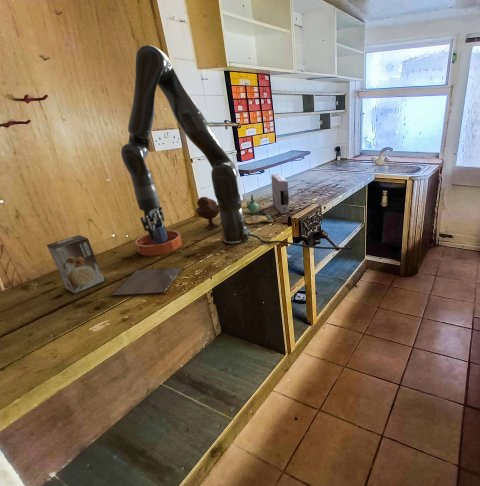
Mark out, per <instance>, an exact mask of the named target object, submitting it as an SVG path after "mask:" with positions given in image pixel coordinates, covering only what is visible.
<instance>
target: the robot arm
mask: <svg viewBox="0 0 480 486" xmlns="http://www.w3.org/2000/svg"><path fill="white" fill-rule="evenodd" d="M134 78H135V79H134V91H133V97H132V105H131V111H130V115H129V120H128V124H127V132H128V133H129V135H128V142H127V143H125V144H124V145H123V146H122V147H121V149H120V155H121V159H122V162H123V163H124V166H125V169H126V171H127V172H128V173H129V175H130V180H131V183H132V187H133V192H134V196H135V199H136V203H137V205H138V209H139V211H143V214H144V215H143V216H140V221H141V225H142V227H143V229H144V232H148V231H149V233H150V236H151V239H152V240H155V239H157V234H156V231H155V225H156V224H157V223H162V224H164V221H165V220H166V219H165V215H164V209H163V207H162V206H161V202H160V197H159V194H158V191H157V190H158V189H157V187H156V185H155V182H154V178H153V175H152V172H151V170H150V169H149V168H148V167H147V164H146V162H145V159H147V157H148V154H149V150H150V136H151V132H152V128H153V124H154V119H155V118H154V117H155V98H156V91H157V88H159V89H160V91H161V92H162V93H163V95H164V97H165V98H166V100H167V103H168V105H169V107H170V110H171V112H172V115H173V117H174V119H175V121H176V122H177V124H178V125H179V127H180V129H181V130H182V131H183V133H184V134H185V136H186V138H188V139H189V141H190V142H191V143H192V144H193V145H194V146H195V147H196V148H197V149H198V150H199V151H200V152H201V153H202V154H203V155H204V156H205V158H206V159H207V161H208V163H209V165H210V167H211V173H210V174H211V183H212V187H213V188H212V189H213V193H214V197H215V199H216V203H217V205H218V208H219V213H218V214H219V219H220V225H221V231H222V237H223V243H224V244H227V245H237V244H241V243H245V242H246V241H249V239H250V237H253V238H255V239H257V240H259V241H260V242H261V243H264V244H277V243H279V244H287V245H290V246H296V247H303V248H309V249H318V250H319V249H322V250H352V249H353V247H352V246H342V247H341V246H317V245H308V244H301V243H296V242H291V241H284V240H263V239H261V237H260V236H258V235H256V234H252V233H250V229H249V228H247V225H246V222H245V218H246V217H245V216H244V215H243V207H242V199H241V194H240V192H239V187H238V180H237V179H238V174H239V173H238V169H237V166H236V165H235V163H234V162H233V161H232V159H231V158H230V157H229V156H228V154H227V153H226V152H225V150H224V149H223V147H222V146H221V145H220V142H219V141H218V138H217V137H216V135H215V133H214V131H213V130H212V128H211V126H210V124H209V123H208V121H207V119H206V117H205V116H204V114H203V113H202V111H201V110H200V108H199V106H198V105H197V103H195V101H194V99H193V98H192V96H191V95H190V94H189V93H188V91H187V90H186V88H185V87H184V85H183V84H182V82H181V80H180V78H179V76H178V74H177V72H176V71H175V68H174V67H173V64H172V63H171V60H170V58H169V56H167V54H166V53H165V52H164V51H162V50H161V49H159V48H158V47H156V46H154V45H150V44H145V45H141V46H140V47H139V48H137V51H136V54H135V77H134ZM151 225H152V226H151ZM149 233H148V234H149Z"/></svg>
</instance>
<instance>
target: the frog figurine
mask: <svg viewBox="0 0 480 486" xmlns="http://www.w3.org/2000/svg"><path fill="white" fill-rule="evenodd" d="M260 209H261V212H262V213H263V211H264V210H263V209H262V207H260V206H259V205H258V203H257V202H256V201H255V199H254V194H251V195H250V201H247V202H246V208H245V207H242V210H245V211H244V214H246V213H248V212H251V213H250V214H249V215H248V217H244V218H245V223H246V224H249V225H251V224H258V223H262V222H264V223H274V222H275V220H273V218H272V216H270V215H269V213H268V212H267V213H266V215H263V214H262V213H260ZM255 212H256V213H257V214H256V213H255Z"/></svg>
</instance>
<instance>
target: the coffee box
mask: <svg viewBox="0 0 480 486" xmlns="http://www.w3.org/2000/svg"><path fill="white" fill-rule="evenodd" d="M46 247H47V250H48V251H49V253H50V256H51V258H52V260H53V262H54V264H55V267H56V269H57V270H58V273H59V275H60V277H61V279H62V282H63V284H64V287H65V289H67V290H68V291H70V292H71V293H73V294H78V293H79V292H82V291H85V290H87V289H89V288H92V287H93V286H94V287H95V286H96V285H98V284H101V283H103V282H105V278H104V275H103V273H102V270H101V268H100V265H99V263H98V259H97V257H96V255H95V253H94V250H93V247H92V245H91V243H90V240H89V238H88V237H86V236H84V235H80V234H77V235H75V236H71V237H68V238H65V239H62V240H58V241H55V242H52V243H48V244H46Z"/></svg>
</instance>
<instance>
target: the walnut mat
mask: <svg viewBox="0 0 480 486" xmlns="http://www.w3.org/2000/svg"><path fill="white" fill-rule="evenodd" d="M182 270H183V267H168V268H151V269H150V268H149V269H148V268H147V269H136V270H135V271H134V272H133V273H132V274H131V275H130V276H129V277H128V278H127V279H126V280H125V281H124V282H123V283H122V284H121V285H120V286H119V287H118V288H117V290H115V291H114V292H113V293H112V294H111V296H112V297H124V296H125V297H126V296H141V295H142V296H143V295H160V294H161V295H162V294H166V292H167V291H168V289H169V288H170V287H171V286H172V284H173V282H174V281H175V280H176V279H177V277H178V276H179V275H180V274H181V272H182Z"/></svg>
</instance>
